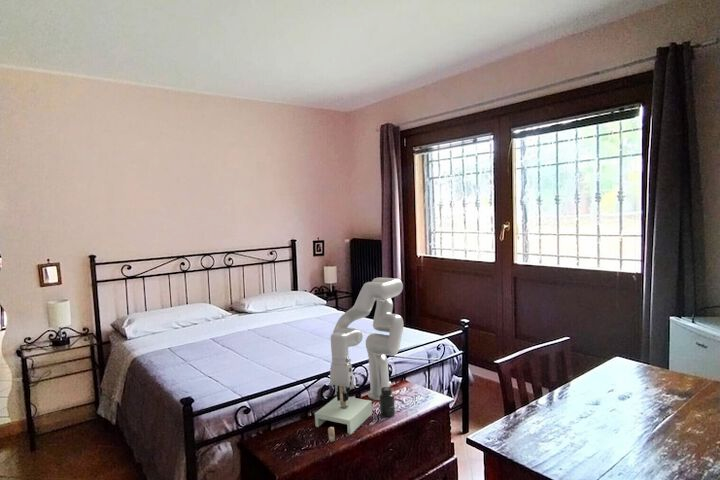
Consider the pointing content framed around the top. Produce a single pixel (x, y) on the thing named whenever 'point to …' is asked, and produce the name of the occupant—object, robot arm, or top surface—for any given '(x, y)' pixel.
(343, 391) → the long birch pin
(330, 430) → the short birch pin
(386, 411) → the supplement bottle
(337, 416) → the plate
